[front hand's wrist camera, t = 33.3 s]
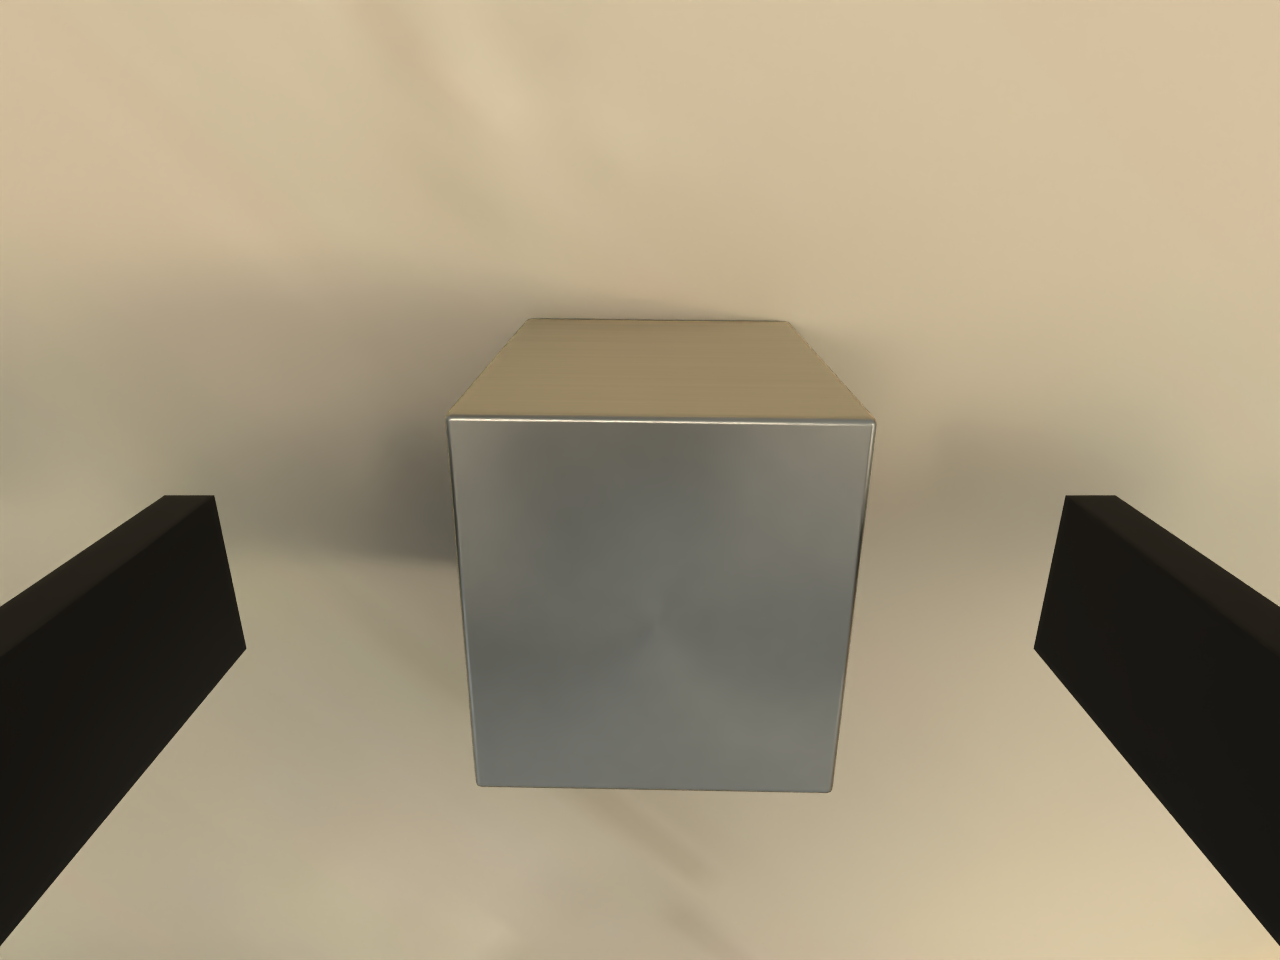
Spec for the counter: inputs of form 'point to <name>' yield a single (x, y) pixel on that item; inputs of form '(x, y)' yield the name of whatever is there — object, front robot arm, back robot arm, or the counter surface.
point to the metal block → (658, 555)
